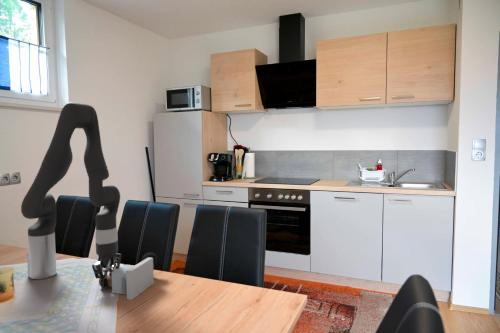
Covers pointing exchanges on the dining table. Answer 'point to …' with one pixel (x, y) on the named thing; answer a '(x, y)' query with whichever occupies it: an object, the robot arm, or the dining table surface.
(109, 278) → the dowel
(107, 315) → the dining table surface
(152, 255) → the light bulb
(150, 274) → the base plate
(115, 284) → the sleeve block
